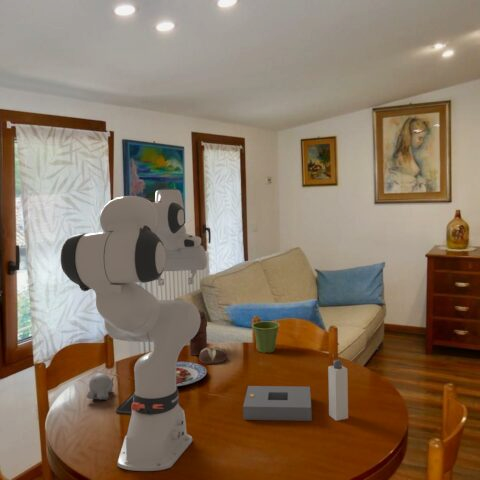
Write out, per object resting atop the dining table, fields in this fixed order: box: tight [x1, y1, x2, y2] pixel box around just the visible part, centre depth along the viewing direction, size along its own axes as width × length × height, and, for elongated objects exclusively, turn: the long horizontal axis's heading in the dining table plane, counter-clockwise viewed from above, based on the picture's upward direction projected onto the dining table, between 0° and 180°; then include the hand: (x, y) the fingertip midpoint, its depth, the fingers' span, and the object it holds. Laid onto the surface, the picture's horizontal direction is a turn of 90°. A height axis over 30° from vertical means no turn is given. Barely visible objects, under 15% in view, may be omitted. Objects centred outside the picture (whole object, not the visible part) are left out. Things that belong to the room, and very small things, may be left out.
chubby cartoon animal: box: [86, 372, 115, 401], centre depth 169 cm, size 7×12×8 cm, turn 165°
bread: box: [198, 346, 228, 365], centre depth 204 cm, size 11×11×5 cm
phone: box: [115, 392, 134, 415], centre depth 163 cm, size 8×1×15 cm
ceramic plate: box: [176, 361, 207, 387], centre depth 185 cm, size 26×26×3 cm
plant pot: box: [251, 320, 281, 354], centre depth 214 cm, size 12×12×11 cm
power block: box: [242, 385, 313, 422], centre depth 156 cm, size 16×20×4 cm
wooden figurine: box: [189, 309, 208, 356], centre depth 215 cm, size 12×6×18 cm, turn 170°
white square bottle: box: [327, 359, 349, 421], centre depth 148 cm, size 4×4×17 cm
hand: (176, 284), depth 157 cm, fingers open, 8 cm apart
